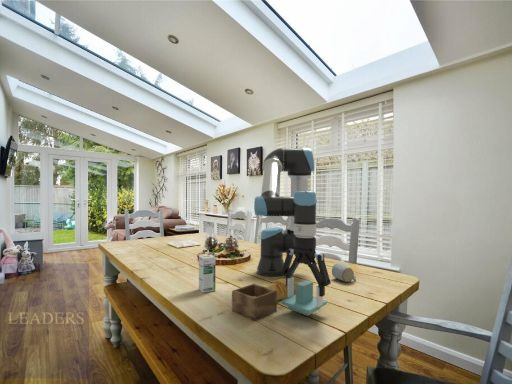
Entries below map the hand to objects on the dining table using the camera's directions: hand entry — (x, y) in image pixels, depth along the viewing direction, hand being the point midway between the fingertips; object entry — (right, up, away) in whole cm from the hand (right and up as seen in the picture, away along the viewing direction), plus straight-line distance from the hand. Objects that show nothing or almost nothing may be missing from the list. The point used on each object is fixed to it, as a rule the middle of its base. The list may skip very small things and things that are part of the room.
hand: (304, 300), depth 94 cm
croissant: (-6, -5, +18) cm, 20 cm away
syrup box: (-37, -5, +23) cm, 44 cm away
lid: (0, -3, 0) cm, 3 cm away
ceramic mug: (+26, -6, +39) cm, 48 cm away
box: (-17, -4, +2) cm, 18 cm away
